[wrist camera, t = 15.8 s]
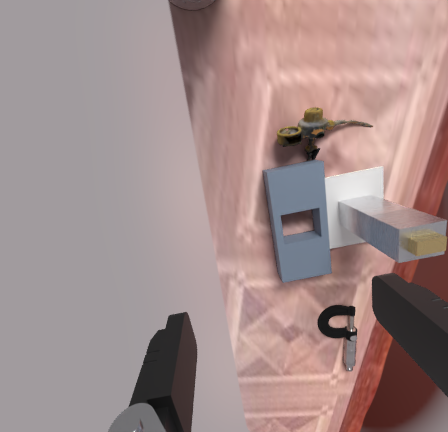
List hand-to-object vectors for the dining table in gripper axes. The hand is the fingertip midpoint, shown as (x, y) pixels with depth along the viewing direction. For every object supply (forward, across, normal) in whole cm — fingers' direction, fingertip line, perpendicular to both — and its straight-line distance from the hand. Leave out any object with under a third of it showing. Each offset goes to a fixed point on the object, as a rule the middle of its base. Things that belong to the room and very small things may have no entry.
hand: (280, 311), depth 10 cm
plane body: (+28, -9, +7) cm, 30 cm away
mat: (+28, -18, +7) cm, 34 cm away
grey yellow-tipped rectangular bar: (+28, -18, +7) cm, 34 cm away
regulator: (+29, -14, -6) cm, 33 cm away
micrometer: (+29, -14, +32) cm, 46 cm away
